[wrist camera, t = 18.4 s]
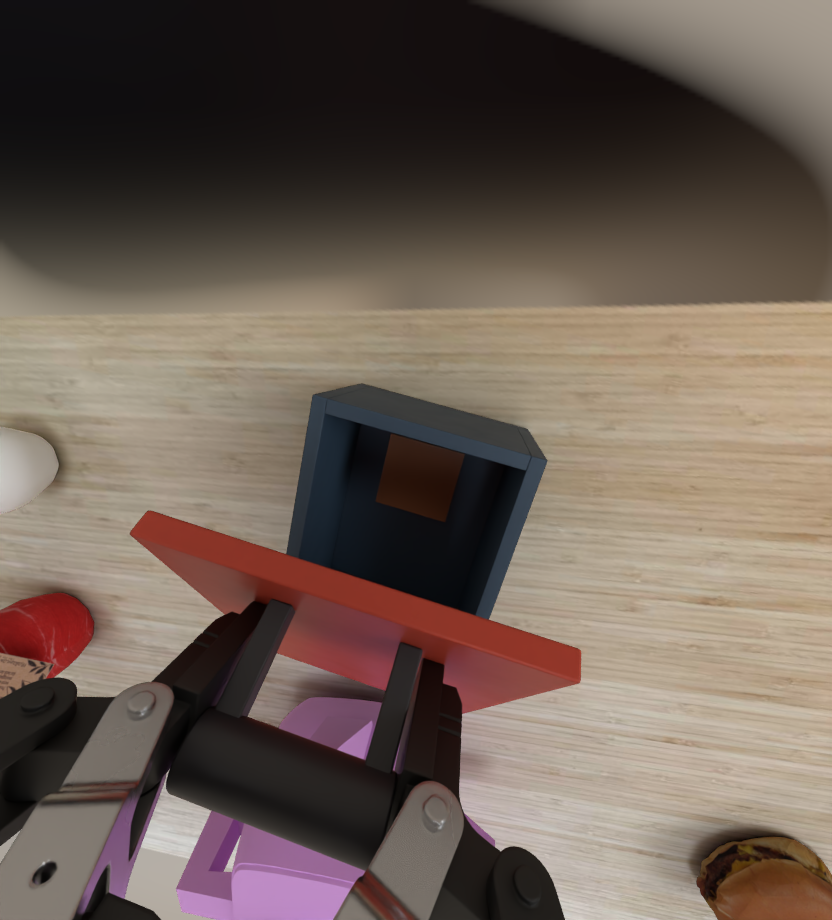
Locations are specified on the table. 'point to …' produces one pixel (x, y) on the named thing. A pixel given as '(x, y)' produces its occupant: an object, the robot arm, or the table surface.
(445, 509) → the block
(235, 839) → the teapot
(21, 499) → the apple
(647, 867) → the table surface
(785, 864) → the burger
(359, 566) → the box
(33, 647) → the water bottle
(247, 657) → the lunchbox lid
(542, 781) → the table surface
